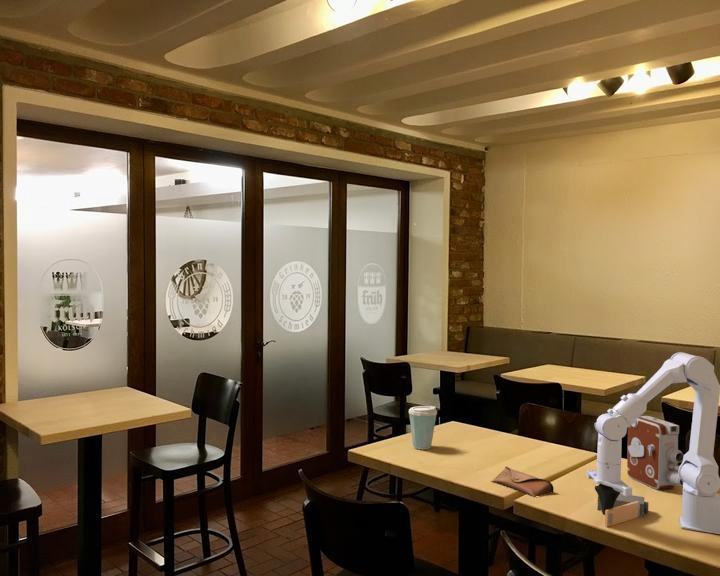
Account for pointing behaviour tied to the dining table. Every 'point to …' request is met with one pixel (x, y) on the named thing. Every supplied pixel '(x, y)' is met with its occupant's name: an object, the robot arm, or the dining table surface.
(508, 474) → the sunglasses case
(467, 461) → the dining table surface
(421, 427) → the disposable coffee cup
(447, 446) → the dining table surface
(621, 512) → the side door
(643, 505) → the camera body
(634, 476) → the cine camera
